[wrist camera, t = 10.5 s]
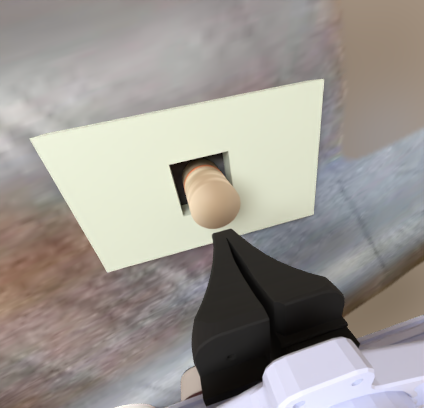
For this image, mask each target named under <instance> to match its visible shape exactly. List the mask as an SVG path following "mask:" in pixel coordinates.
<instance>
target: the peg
mask: <svg viewBox="0 0 424 408" xmlns="http://www.w3.org/2000/svg"><path fill="white" fill-rule="evenodd" d="M182 182H183V186H184V190H185V194H186V197H187V201H188V205H189V208H190V212H191V216H192V218H193V219H194V221H195V222H196V223H197V224H198V225H200V226H201V227H204V228H208V229H217V228H221V227H224V226H226V225H228V224H229V223H231V222H232V221H233V220H234V219H235V217H236V216H237V214H238V212H239V210H240V205H241V202H240V197H239V194H238V193H237V191H236V190H235V189H234V187H233V186H232V185H231V184H230V183H229V181H228V180H227V179H226V178H225V176H224V175H223V174H222V172H221V171H220V170H219V169H218V168H217V167H216V165H215V164H214V163H213V162H211V161H210V160H207V159H195V160H193V161H191V162H190V163H188V164H187V165H186V167H185V168H184V170H183V173H182Z"/></svg>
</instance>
